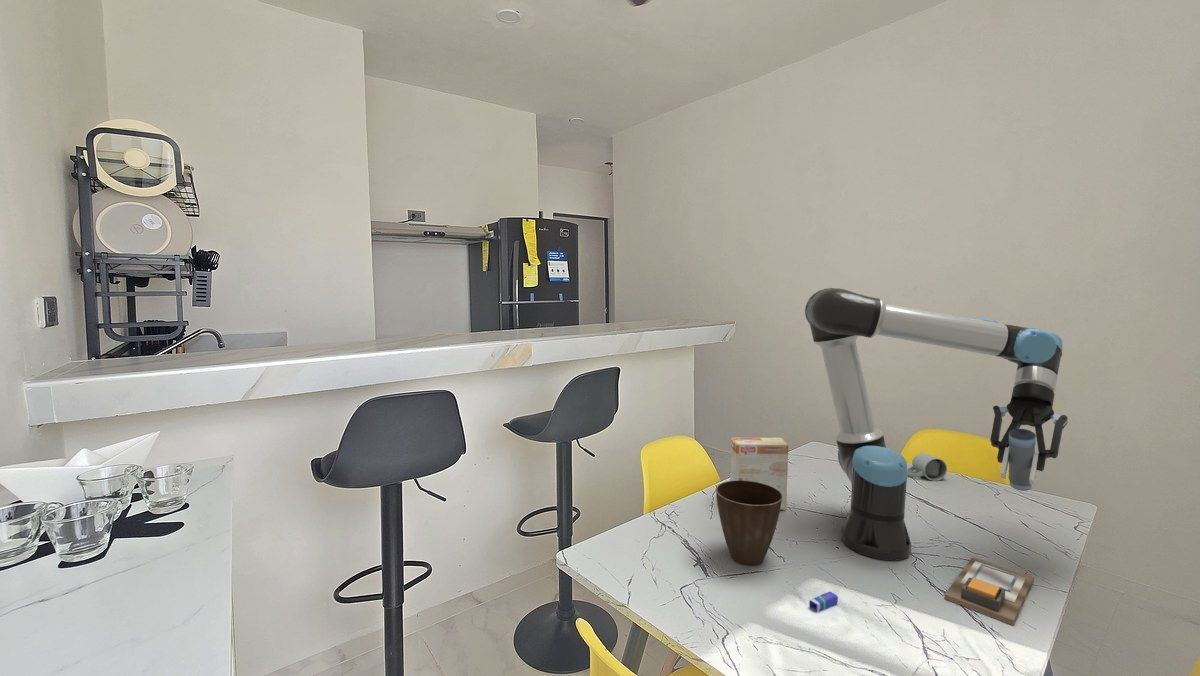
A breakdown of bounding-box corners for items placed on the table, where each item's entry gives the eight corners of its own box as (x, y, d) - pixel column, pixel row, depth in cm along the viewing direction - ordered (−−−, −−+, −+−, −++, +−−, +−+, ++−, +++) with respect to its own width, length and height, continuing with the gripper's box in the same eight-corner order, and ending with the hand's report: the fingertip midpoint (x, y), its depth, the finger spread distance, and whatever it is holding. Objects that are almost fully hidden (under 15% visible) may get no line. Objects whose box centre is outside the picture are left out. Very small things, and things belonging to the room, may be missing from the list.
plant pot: (702, 547, 123) (703, 484, 122) (752, 537, 128) (754, 476, 127) (739, 580, 109) (741, 509, 108) (794, 567, 115) (796, 499, 113)
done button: (994, 605, 98) (994, 595, 98) (966, 595, 101) (967, 585, 101) (998, 596, 101) (999, 586, 101) (972, 586, 104) (973, 577, 104)
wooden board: (1013, 625, 95) (1014, 610, 94) (944, 598, 103) (945, 585, 103) (1033, 581, 109) (1034, 567, 109) (971, 560, 117) (972, 548, 117)
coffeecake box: (779, 500, 151) (781, 437, 149) (786, 510, 144) (789, 444, 142) (728, 499, 152) (730, 436, 150) (734, 509, 145) (736, 443, 143)
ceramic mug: (930, 472, 175) (931, 450, 174) (947, 480, 167) (948, 458, 166) (900, 472, 175) (901, 451, 174) (915, 481, 167) (916, 459, 166)
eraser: (808, 608, 100) (809, 598, 100) (829, 600, 103) (830, 590, 103) (816, 613, 98) (817, 604, 98) (837, 605, 101) (838, 595, 101)
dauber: (1018, 493, 114) (1020, 442, 110) (1002, 481, 119) (1003, 431, 114) (1039, 488, 114) (1041, 437, 109) (1022, 476, 118) (1023, 426, 114)
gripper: (1083, 403, 116) (1070, 497, 107) (989, 392, 128) (971, 475, 120) (1084, 386, 111) (1070, 483, 103) (986, 376, 124) (967, 461, 116)
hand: (1017, 478), depth 112 cm, fingers closed on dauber, 4 cm apart
